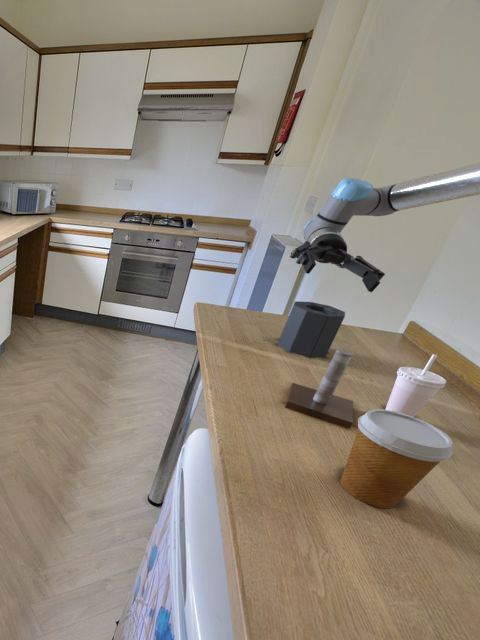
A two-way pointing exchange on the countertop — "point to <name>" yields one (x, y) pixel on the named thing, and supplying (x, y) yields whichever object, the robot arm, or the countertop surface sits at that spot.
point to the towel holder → (325, 395)
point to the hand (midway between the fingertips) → (341, 277)
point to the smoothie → (414, 389)
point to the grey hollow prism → (311, 329)
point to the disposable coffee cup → (392, 456)
